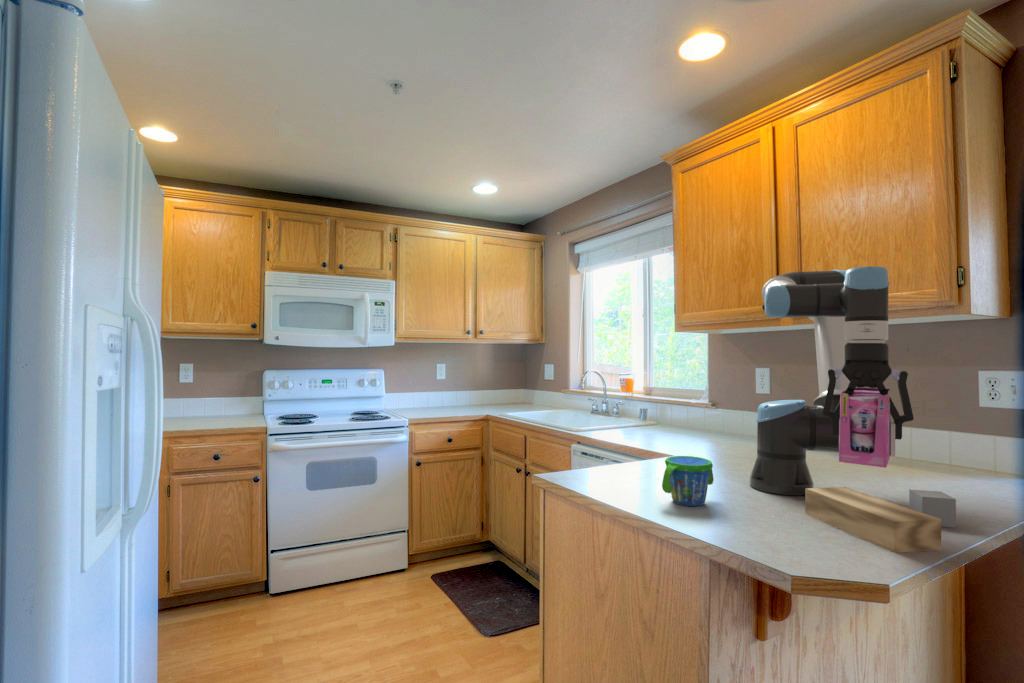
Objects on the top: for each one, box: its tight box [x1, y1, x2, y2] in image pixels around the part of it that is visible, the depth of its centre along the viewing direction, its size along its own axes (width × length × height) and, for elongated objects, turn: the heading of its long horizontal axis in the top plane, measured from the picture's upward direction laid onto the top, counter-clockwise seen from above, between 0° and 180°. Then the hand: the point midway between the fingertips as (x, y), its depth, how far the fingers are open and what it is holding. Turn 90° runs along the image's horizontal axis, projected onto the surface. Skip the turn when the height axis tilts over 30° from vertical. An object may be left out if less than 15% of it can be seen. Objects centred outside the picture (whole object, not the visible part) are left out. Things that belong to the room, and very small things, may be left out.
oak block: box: [804, 486, 942, 554], centre depth 109 cm, size 10×23×6 cm, turn 9°
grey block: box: [908, 489, 957, 528], centre depth 114 cm, size 6×6×6 cm
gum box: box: [838, 387, 892, 469], centre depth 109 cm, size 24×8×14 cm, turn 143°
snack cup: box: [661, 455, 714, 507], centre depth 127 cm, size 16×10×10 cm
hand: (866, 452), depth 109 cm, fingers closed on gum box, 8 cm apart
